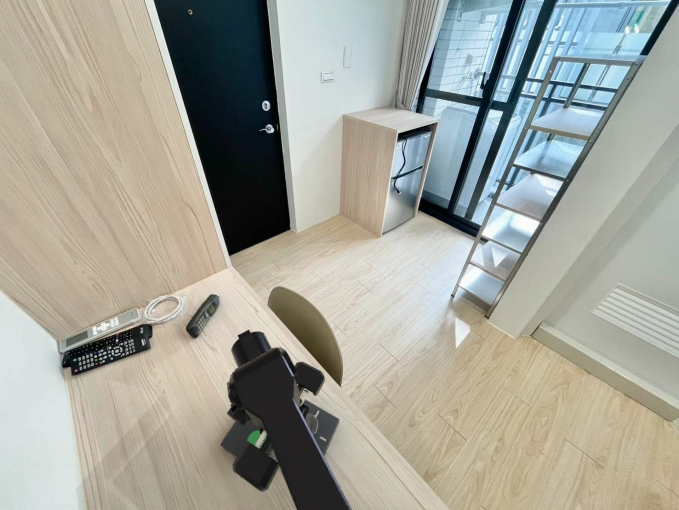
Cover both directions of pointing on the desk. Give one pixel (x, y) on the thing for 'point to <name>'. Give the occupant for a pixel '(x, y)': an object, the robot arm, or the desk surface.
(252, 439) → the button
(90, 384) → the desk surface
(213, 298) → the mobile phone
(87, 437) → the desk surface
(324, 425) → the dial panel
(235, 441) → the button block
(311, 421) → the program dial
